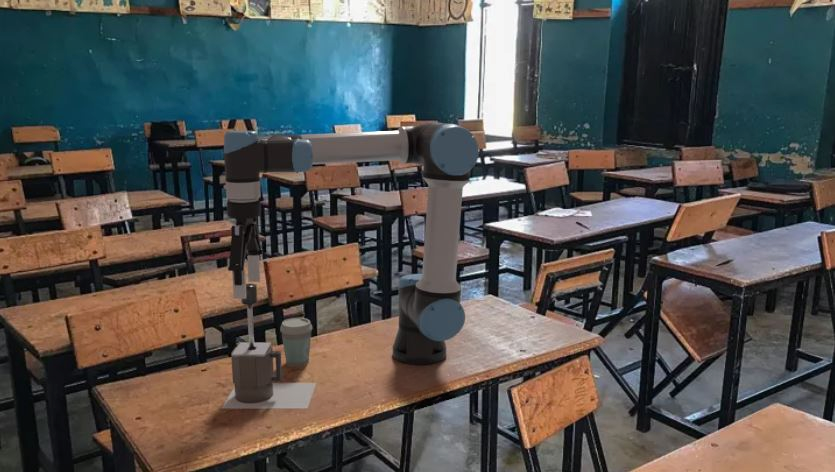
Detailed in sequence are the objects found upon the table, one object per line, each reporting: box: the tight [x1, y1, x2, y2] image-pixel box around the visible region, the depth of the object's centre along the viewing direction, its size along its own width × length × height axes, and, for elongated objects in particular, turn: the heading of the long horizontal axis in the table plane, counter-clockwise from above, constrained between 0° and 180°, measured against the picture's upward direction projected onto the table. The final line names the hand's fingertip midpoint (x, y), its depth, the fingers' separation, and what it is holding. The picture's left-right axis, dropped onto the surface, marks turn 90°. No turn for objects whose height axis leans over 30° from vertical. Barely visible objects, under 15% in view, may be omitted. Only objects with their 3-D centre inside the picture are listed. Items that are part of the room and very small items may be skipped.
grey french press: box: [230, 341, 283, 403], centre depth 164 cm, size 11×9×12 cm
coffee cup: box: [279, 317, 313, 368], centre depth 183 cm, size 8×8×12 cm
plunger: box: [240, 283, 258, 350], centre depth 161 cm, size 4×4×16 cm
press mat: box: [221, 382, 317, 410], centre depth 165 cm, size 20×14×1 cm
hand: (247, 289), depth 159 cm, fingers open, 13 cm apart
